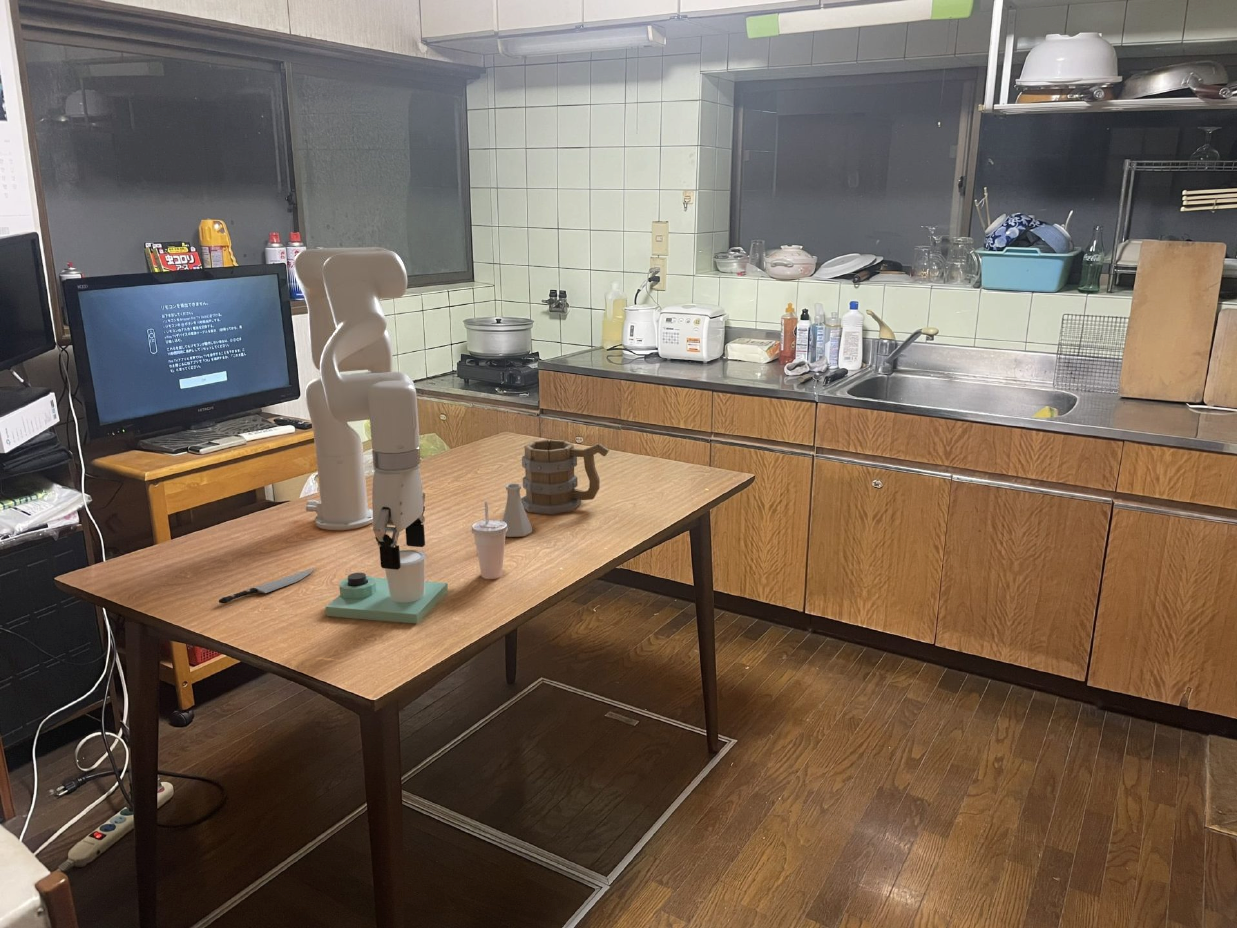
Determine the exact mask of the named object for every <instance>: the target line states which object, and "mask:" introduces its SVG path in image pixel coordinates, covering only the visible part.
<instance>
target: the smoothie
mask: <svg viewBox="0 0 1237 928" xmlns="http://www.w3.org/2000/svg"><path fill="white" fill-rule="evenodd" d="M484 517H485V519H484V520H479V521H476V522H474V523H473V524H472V525H471V533H472V534H473V537H474V542H475V546H476V547H475V548H476V554H477V560H478V564H479V570H480V576H481V578H483V579H485V580H495V579H499V578H501V577H502V576H503V568H504V567H503V566H504V556H505V545H506V544H505V542H506V536H505V532H506V531H507V530H508V529H507V524H506V523H505V522H503V521H501V519H490V518H489V501H487V500H485V501H484Z"/></svg>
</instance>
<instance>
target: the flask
mask: <svg viewBox="0 0 1237 928" xmlns="http://www.w3.org/2000/svg"><path fill="white" fill-rule="evenodd" d="M521 489H522V484H519V483H509V484H506V485H505V490H506V492H507V495H506V496H507V497H506V503H505V507H504V511H503V515H502V517H501V519H500V521H503V522H505V523H506V524H507V529H508V530H507V531H506V532H505V537H509V538H512V537H513V538H514V537H515V538H516V537H517V538H518V537H525V536H527V535H530V534H531V533H533V527H532V524H531V522H530V519H529V517H528V515H527V512H526V509H525V508H524V507H523V504H522V501H521V498H522V497H521Z"/></svg>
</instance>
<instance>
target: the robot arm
mask: <svg viewBox="0 0 1237 928" xmlns="http://www.w3.org/2000/svg"><path fill="white" fill-rule="evenodd" d="M293 272H294V277H295V280H296V283H297V285H298V287H299V289H300V291H301V293H302V296H303V298H304V300H305V303H306V307H307V318H308V319H307V320H308V321H307V322H308V338H309V350H310V356H311V363H312V364H313V366H314V367H315V369H316V370H318V371H320V372H319V373H320V376H318V377H315V378H313V379H312V380H310V381H309V382H308V383H307V385H306V387H305V391H304V396H305V397H304V398H305V403H306V406H307V407H306V408H307V412H308V414H309V419H310V423H311V427H312V434H313V441H314V451H315V457H316V467H317V468H316V470H317V478H318V487H319V497H320V498H319V499H320V500H316V499H308V500H307V501H306V503H305V505H306V507H305V511H306V512H310V513H314V512H315V513H316V517H314V524H315V526H316V527H317V528H319V529H322V530H328V531H347V530H354V529H359V528H364V527H366V526H369V525H370V524H373V528H372V531H373V534H374V536H375V541H376V542H377V546H378V548H379V560H380V567H381V568H382V569H384V570H385V569H396V570H398V569H399V568H400V567H401V564H400V551H401V549H400V545H399V544H398V539H399V535H400V533H401V532H403V531H405V541H406V543H405V544H406V546H407V547H413V548H414V547H416V548H424V547H425V546H426V537H425V524H424V523H425V521H426V519H425V516H424V513H425V510H426V507H425V501H426V494H425V492H424V489H423V482H422V474H421V469H420V468H421V467H422V459H421V458H422V457H421V443H420V427H419V410H418V397H417V396H418V395H417V390H416V389H417V388H416V386H415V383H414V381H413V380H412V379H411V378H410V377H409V375H408V374H406V373H404V372H401V371H393V370H394V368H393V366H394V363H393V361H394V360H393V344H392V340H391V339H392V338H391V335H390V334H389V331H388V330H387V325H388V324H387V319H386V316H385V313H384V309H383V306H382V301H381V300H386V299H398V298H402V297H403V296H404V295H405V294H406V292H407V288H408V274H407V273H408V272H407V270H406V267H405V264H404V261H403V260H402V259H401V257H400V256H399V255H398V254H397V253H396V252H395V251H393V250H390V249H387V248H384V247H377V246H376V247H374V246H371V247H366V246H365V247H364V246H363V247H319V248H309V249H304V250H301V251H300V252H298V253H297V254H296V255H295V256H294V260H293ZM357 371H365V372H357ZM343 372H344V373H343ZM345 372H352V373H345ZM359 421H369V428H370V441H371V443H370V444H371V457H372V468H373V471H374V472H373V477H372V492H371V494H372V495H371V499H372V503H371V505H372V509H371V508H369V505H368V504H369V503H368V493H367V492H368V491H367V482H366V481H367V480H366V470H365V459H364V457H365V456H364V448H363V441H362V438H361V436H360V434H359V433H358V432H357V431H356V430H355V429H354V428H353V427H352V426H351V425H350V424H349V423H350V422H351V423H353V422H359ZM387 533H392V535H391V537H390V535H389V534H387ZM397 544H398V545H397Z"/></svg>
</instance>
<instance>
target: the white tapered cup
mask: <svg viewBox="0 0 1237 928" xmlns="http://www.w3.org/2000/svg"><path fill="white" fill-rule="evenodd" d="M426 557H427V555H426V554H425V553H424V552H423V551H421V550H414V549H406V550H405V549H403V550H400V564H401V567H400V568H399V569H398V570H396V569H385V568H384V570H385V576H386V577H385V578H387V582H388V588H389V593H390V598H391V600H393V601H395V602H401V603H406V602H413V601H417V600H419V599H421V598H422V597H424V594H425V581H426Z"/></svg>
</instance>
